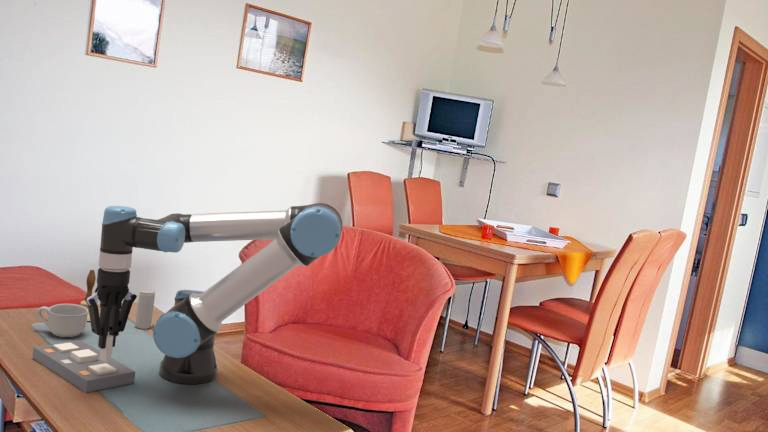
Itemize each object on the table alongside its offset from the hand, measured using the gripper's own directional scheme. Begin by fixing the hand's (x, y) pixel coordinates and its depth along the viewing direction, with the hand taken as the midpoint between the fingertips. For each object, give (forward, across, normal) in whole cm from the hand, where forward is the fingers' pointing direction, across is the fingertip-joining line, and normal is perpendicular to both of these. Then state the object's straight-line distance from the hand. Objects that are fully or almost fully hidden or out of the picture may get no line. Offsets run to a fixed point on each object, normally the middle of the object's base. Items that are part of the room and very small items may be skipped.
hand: (105, 359), depth 170 cm
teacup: (+6, -9, -38) cm, 40 cm away
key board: (+6, 0, -9) cm, 11 cm away
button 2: (+4, 0, 0) cm, 4 cm away
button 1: (+4, 0, -18) cm, 19 cm away
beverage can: (+6, -34, -34) cm, 49 cm away
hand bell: (+6, -23, -49) cm, 55 cm away
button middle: (+3, 0, -9) cm, 10 cm away
